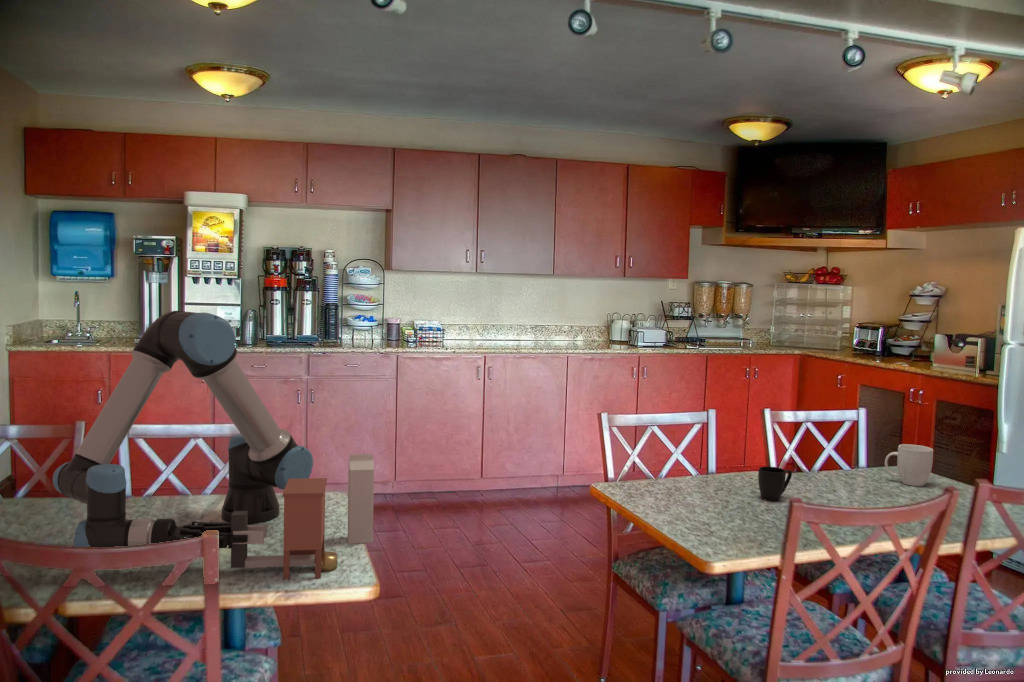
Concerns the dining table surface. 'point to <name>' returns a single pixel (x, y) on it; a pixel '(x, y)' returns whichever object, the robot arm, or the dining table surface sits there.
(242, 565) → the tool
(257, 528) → the robot arm
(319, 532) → the cabinet
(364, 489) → the milk
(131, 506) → the dining table surface
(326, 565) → the token
